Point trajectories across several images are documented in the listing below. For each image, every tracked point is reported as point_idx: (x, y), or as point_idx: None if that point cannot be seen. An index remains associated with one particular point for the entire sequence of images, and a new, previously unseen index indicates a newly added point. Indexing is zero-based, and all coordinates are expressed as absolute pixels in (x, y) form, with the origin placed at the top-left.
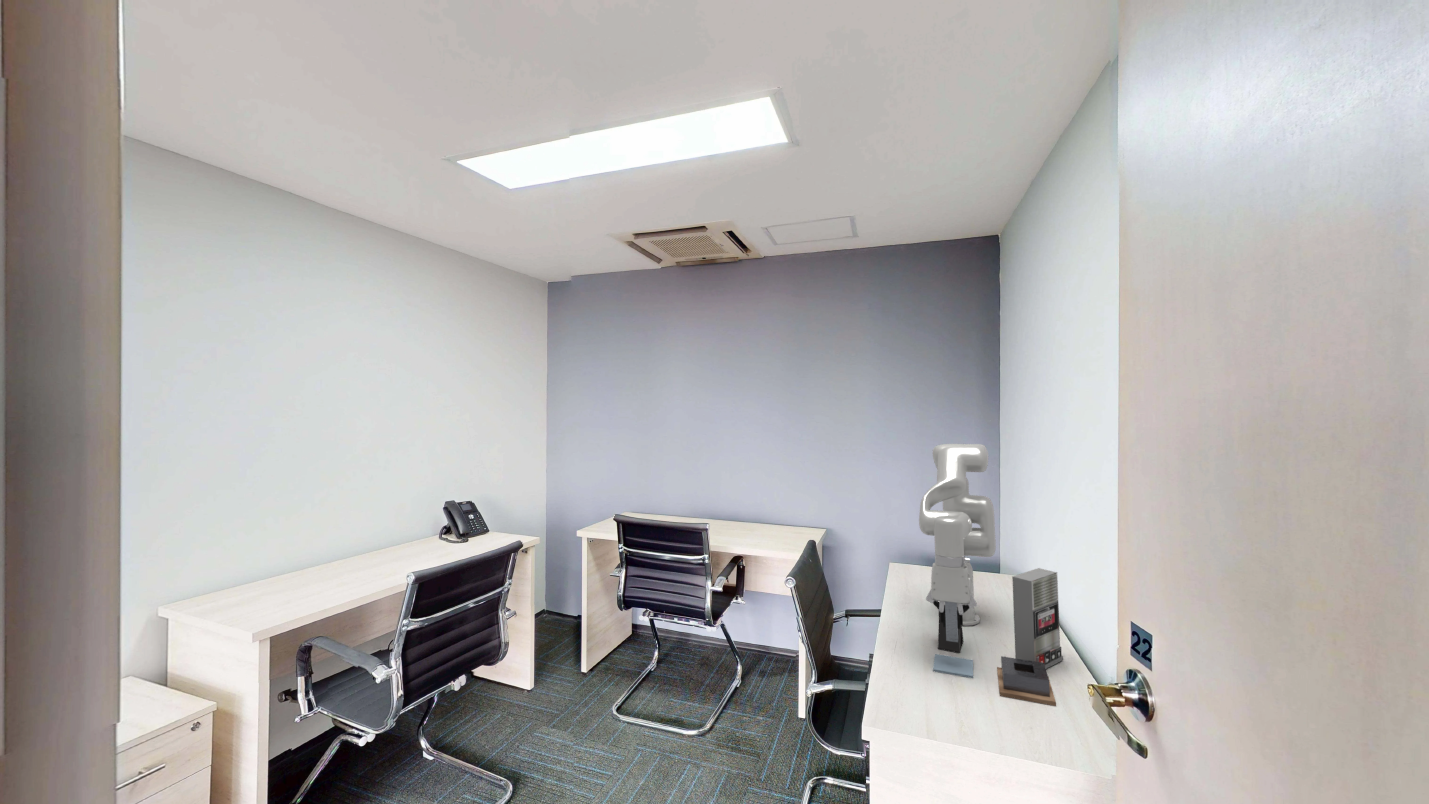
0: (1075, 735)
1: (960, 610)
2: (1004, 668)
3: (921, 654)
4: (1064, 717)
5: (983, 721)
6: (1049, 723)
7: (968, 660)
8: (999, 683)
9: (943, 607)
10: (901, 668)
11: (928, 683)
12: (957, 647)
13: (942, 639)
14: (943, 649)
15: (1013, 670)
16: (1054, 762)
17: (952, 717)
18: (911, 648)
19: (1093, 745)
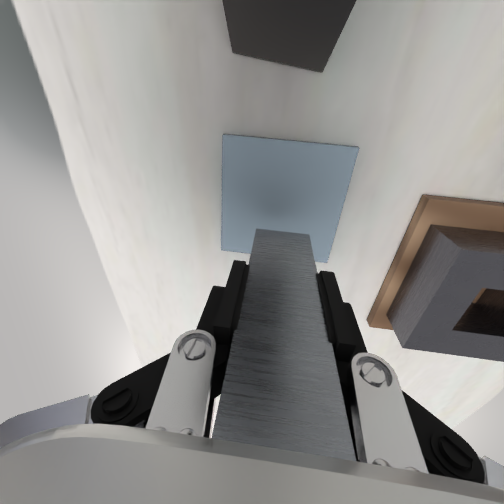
0: (449, 396)
1: None
2: (421, 326)
3: (177, 136)
4: (469, 362)
5: None
6: (423, 378)
7: (340, 158)
8: (386, 293)
9: (208, 428)
10: (143, 250)
11: None
12: (318, 59)
13: (248, 29)
14: (255, 56)
15: (445, 333)
16: None
17: None
18: (132, 87)
19: (461, 410)
